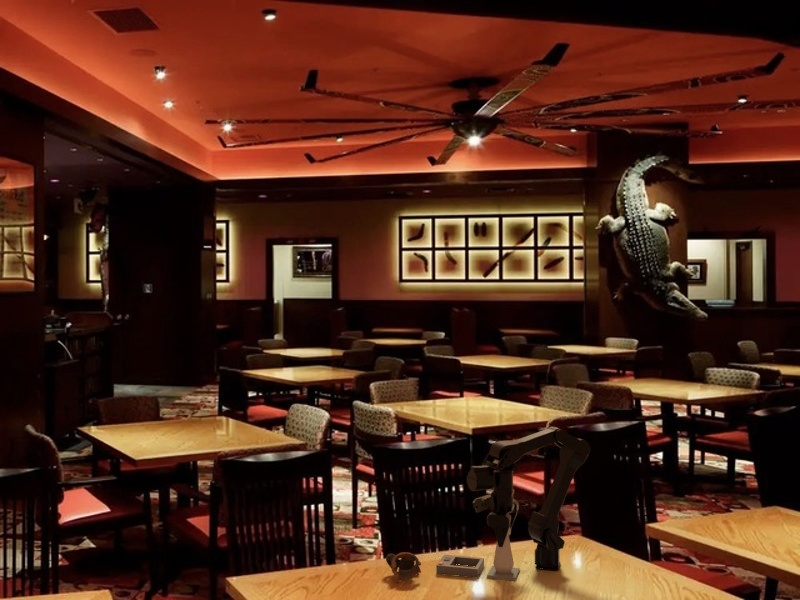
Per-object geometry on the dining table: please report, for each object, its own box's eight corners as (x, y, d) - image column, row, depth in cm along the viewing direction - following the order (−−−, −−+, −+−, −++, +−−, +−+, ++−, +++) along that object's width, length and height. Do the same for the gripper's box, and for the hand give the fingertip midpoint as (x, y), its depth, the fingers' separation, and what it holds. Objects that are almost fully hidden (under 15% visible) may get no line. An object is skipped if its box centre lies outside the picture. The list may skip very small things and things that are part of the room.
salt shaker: (513, 575, 222) (512, 529, 222) (492, 574, 223) (492, 528, 223) (514, 568, 228) (513, 523, 228) (494, 567, 229) (493, 522, 229)
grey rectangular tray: (484, 566, 232) (484, 557, 232) (477, 578, 223) (477, 568, 223) (444, 562, 235) (444, 553, 235) (436, 573, 226) (436, 564, 226)
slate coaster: (519, 571, 228) (519, 568, 228) (515, 580, 220) (515, 577, 220) (492, 568, 230) (492, 565, 230) (487, 577, 223) (487, 575, 223)
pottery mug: (429, 577, 225) (427, 557, 221) (410, 600, 219) (408, 580, 215) (395, 559, 232) (393, 539, 228) (375, 581, 225) (373, 561, 221)
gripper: (481, 478, 236) (481, 530, 237) (468, 493, 219) (468, 549, 219) (518, 480, 233) (519, 533, 233) (508, 496, 215) (508, 553, 215)
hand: (503, 541), depth 225 cm, fingers open, 9 cm apart
